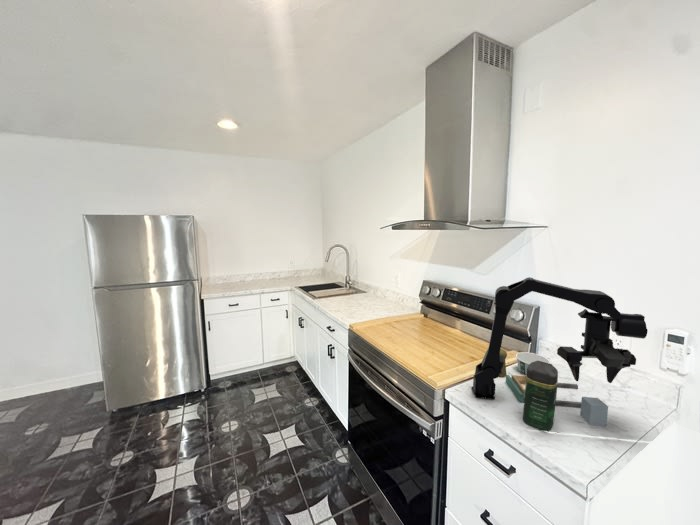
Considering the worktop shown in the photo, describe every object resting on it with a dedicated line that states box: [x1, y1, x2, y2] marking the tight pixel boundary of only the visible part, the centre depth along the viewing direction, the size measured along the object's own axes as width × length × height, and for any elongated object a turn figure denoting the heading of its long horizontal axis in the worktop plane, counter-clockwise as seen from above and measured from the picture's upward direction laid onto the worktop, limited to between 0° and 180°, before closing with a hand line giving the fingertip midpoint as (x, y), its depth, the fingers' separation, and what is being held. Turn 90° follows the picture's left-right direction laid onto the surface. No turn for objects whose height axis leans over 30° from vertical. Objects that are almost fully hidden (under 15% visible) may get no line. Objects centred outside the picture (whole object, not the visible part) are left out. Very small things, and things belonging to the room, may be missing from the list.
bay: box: [505, 374, 582, 409], centre depth 103 cm, size 26×16×4 cm, turn 81°
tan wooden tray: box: [510, 374, 526, 397], centre depth 104 cm, size 10×10×4 cm
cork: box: [498, 348, 508, 378], centre depth 117 cm, size 6×6×11 cm
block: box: [579, 396, 609, 427], centre depth 89 cm, size 4×4×7 cm
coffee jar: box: [522, 361, 559, 432], centre depth 89 cm, size 10×8×19 cm
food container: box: [515, 351, 551, 376], centre depth 119 cm, size 12×12×6 cm
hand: (592, 381), depth 90 cm, fingers open, 9 cm apart
